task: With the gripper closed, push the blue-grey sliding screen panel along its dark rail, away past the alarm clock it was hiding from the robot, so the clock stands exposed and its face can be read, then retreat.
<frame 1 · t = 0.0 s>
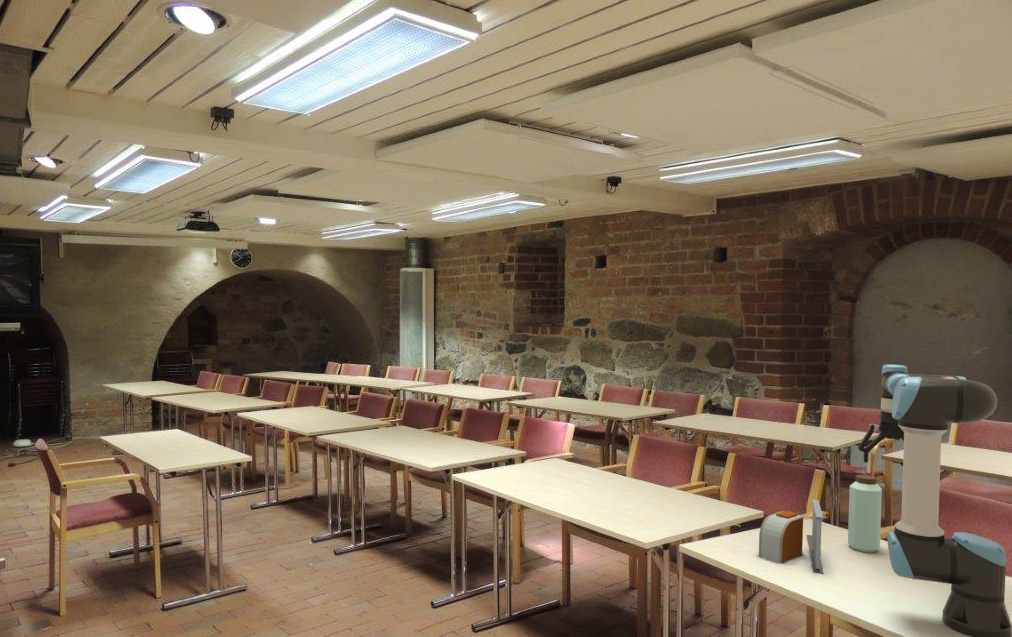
hand: (891, 474, 234), 28 cm above the table, fingers open, 13 cm apart
alarm clock: (781, 555, 235), on the table
rail: (814, 553, 237), on the table
water bottle: (863, 549, 243), on the table
screen: (816, 532, 231), point 9 cm above the table, slide at 0.0 cm
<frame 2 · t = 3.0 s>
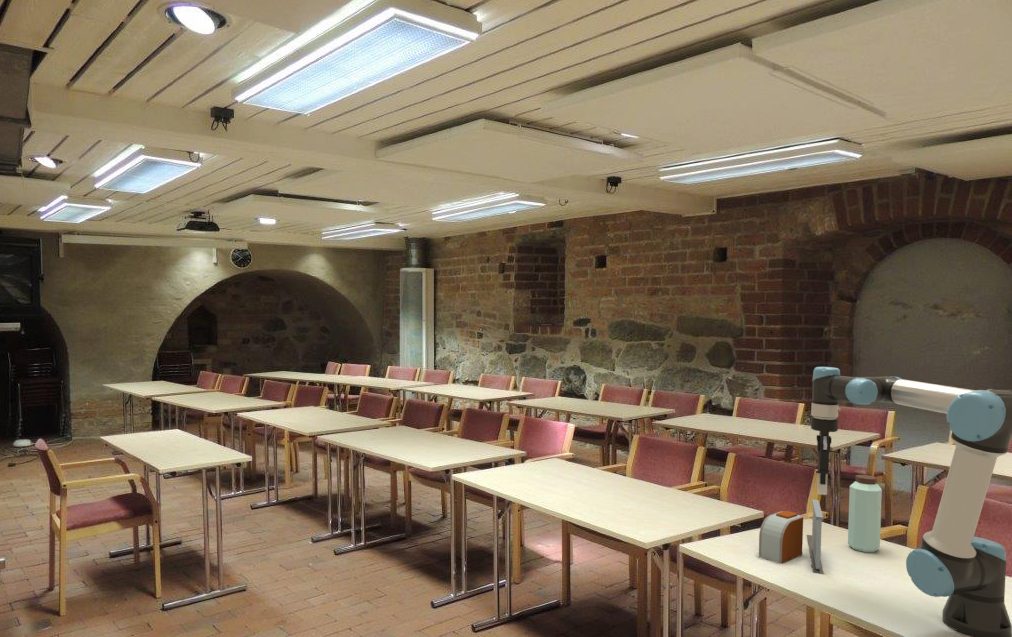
hand: (821, 493, 215), 26 cm above the table, fingers closed
nothing on the table moved.
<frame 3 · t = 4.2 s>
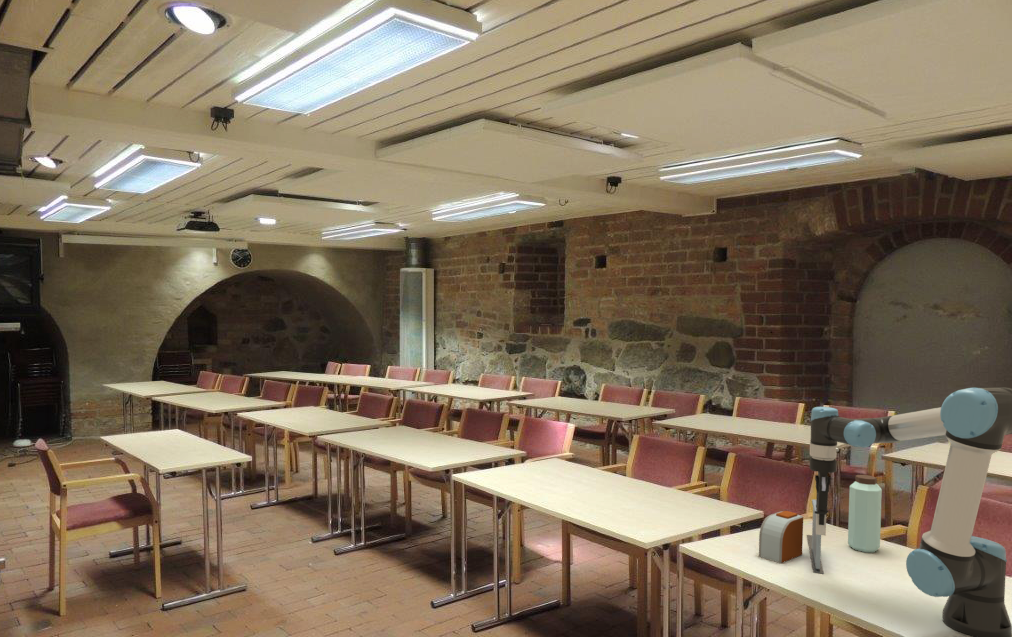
hand: (820, 534, 215), 13 cm above the table, fingers closed
nothing on the table moved.
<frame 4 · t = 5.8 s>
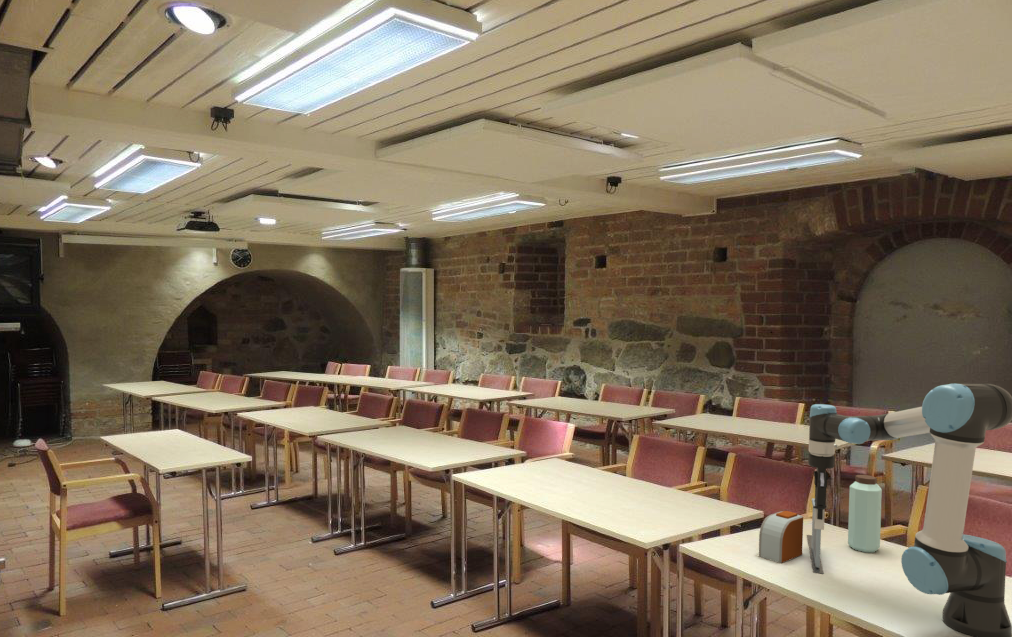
hand: (819, 528, 220), 14 cm above the table, fingers closed
screen: (816, 531, 232), point 9 cm above the table, slide at 1.5 cm, touching gripper
everything else where it was.
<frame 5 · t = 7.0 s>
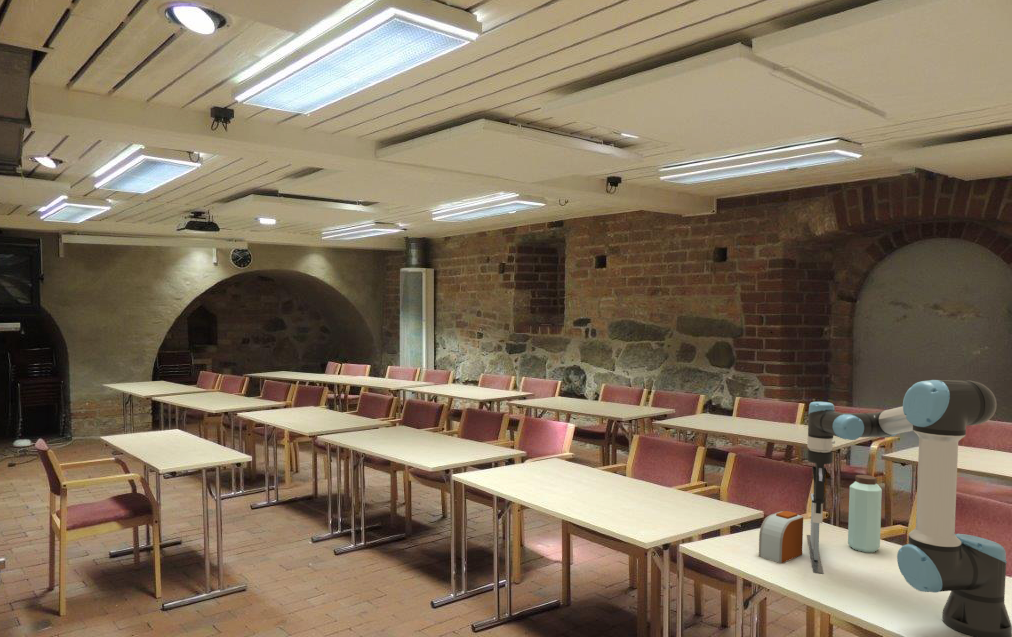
hand: (817, 522, 227), 14 cm above the table, fingers closed
screen: (814, 525, 239), point 9 cm above the table, slide at 8.5 cm, touching gripper
everything else where it was.
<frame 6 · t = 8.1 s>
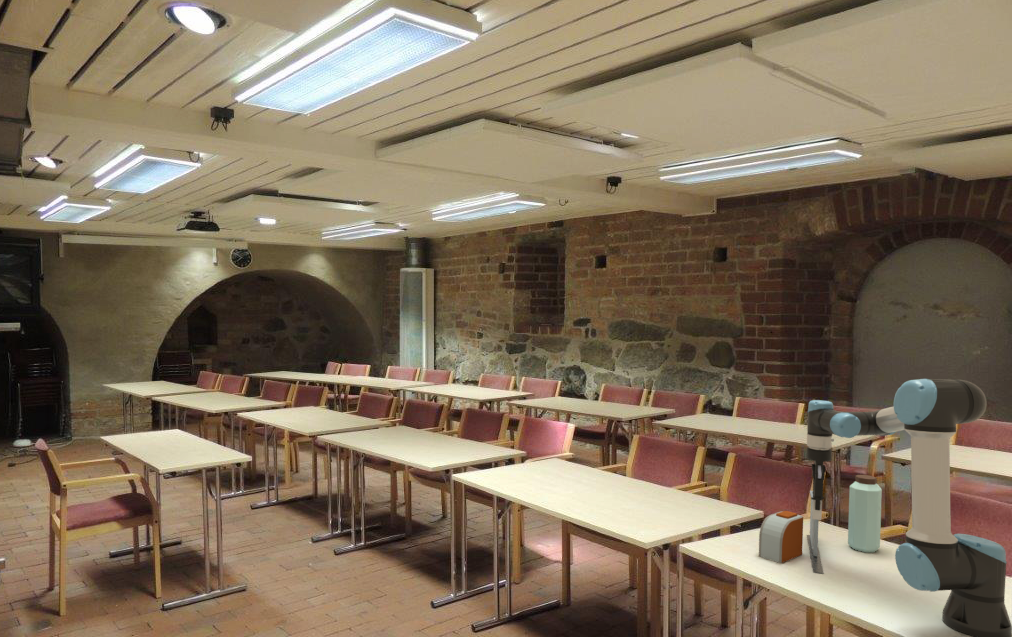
hand: (816, 518, 231), 14 cm above the table, fingers closed
screen: (814, 522, 243), point 9 cm above the table, slide at 12.6 cm, touching gripper
everything else where it was.
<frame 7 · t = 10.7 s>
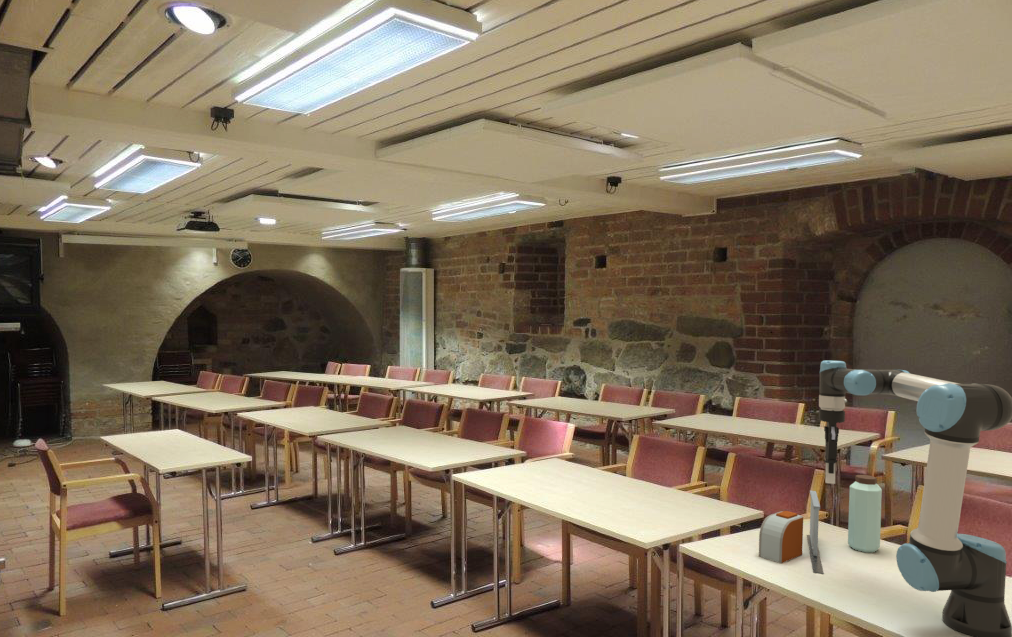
hand: (830, 482, 223), 27 cm above the table, fingers closed
screen: (814, 522, 243), point 9 cm above the table, slide at 12.8 cm
everything else where it was.
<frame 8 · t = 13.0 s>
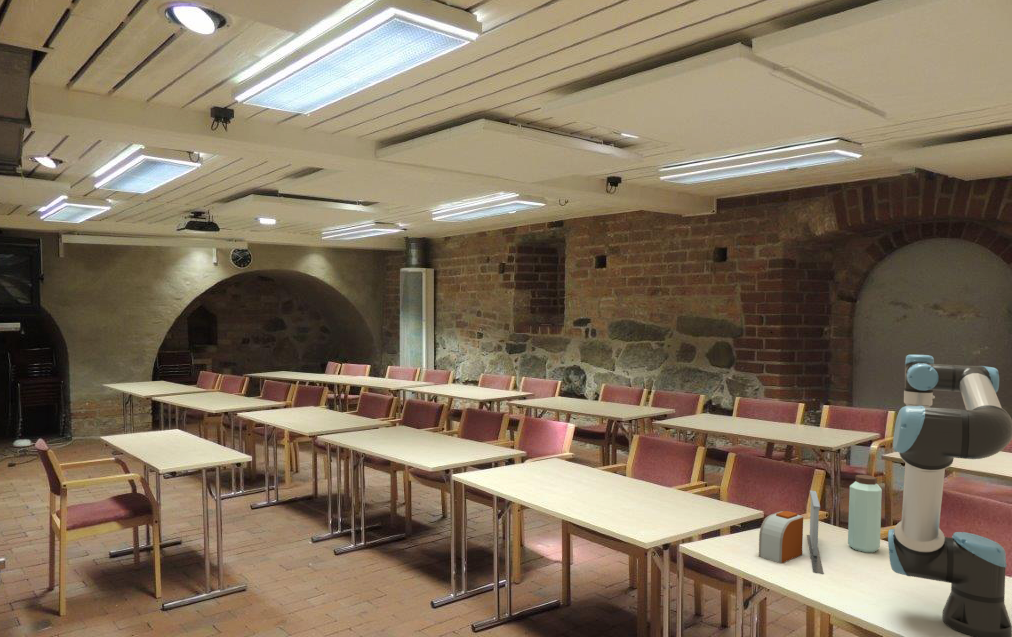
hand: (915, 482, 213), 30 cm above the table, fingers closed
nothing on the table moved.
at the end: screen slide at 12.8 cm; alarm clock moved 0.3 cm from its start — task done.
